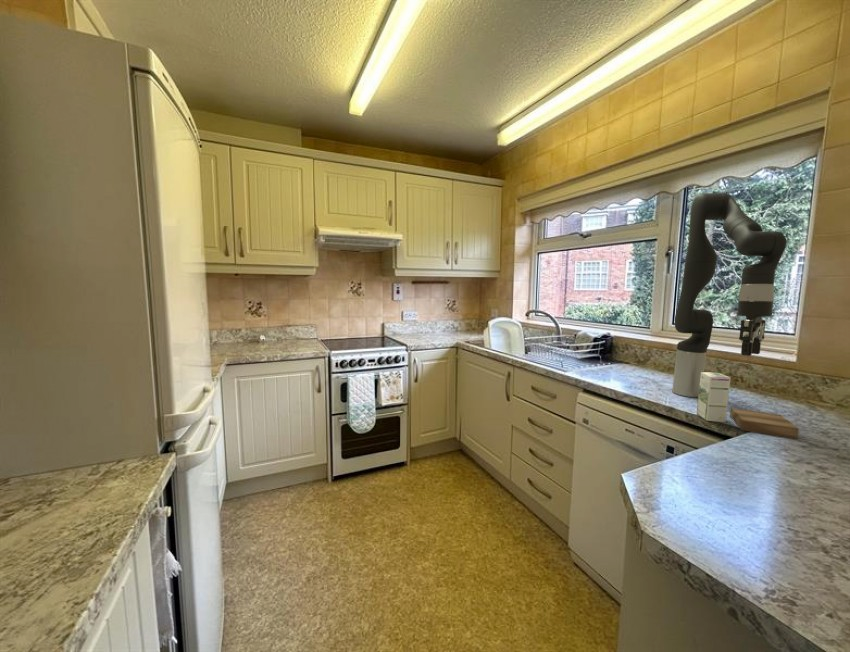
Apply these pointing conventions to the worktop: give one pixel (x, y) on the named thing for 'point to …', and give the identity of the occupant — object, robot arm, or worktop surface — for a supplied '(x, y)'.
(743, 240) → the robot arm
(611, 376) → the worktop surface
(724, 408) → the syrup box
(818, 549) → the worktop surface
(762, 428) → the walnut plinth
